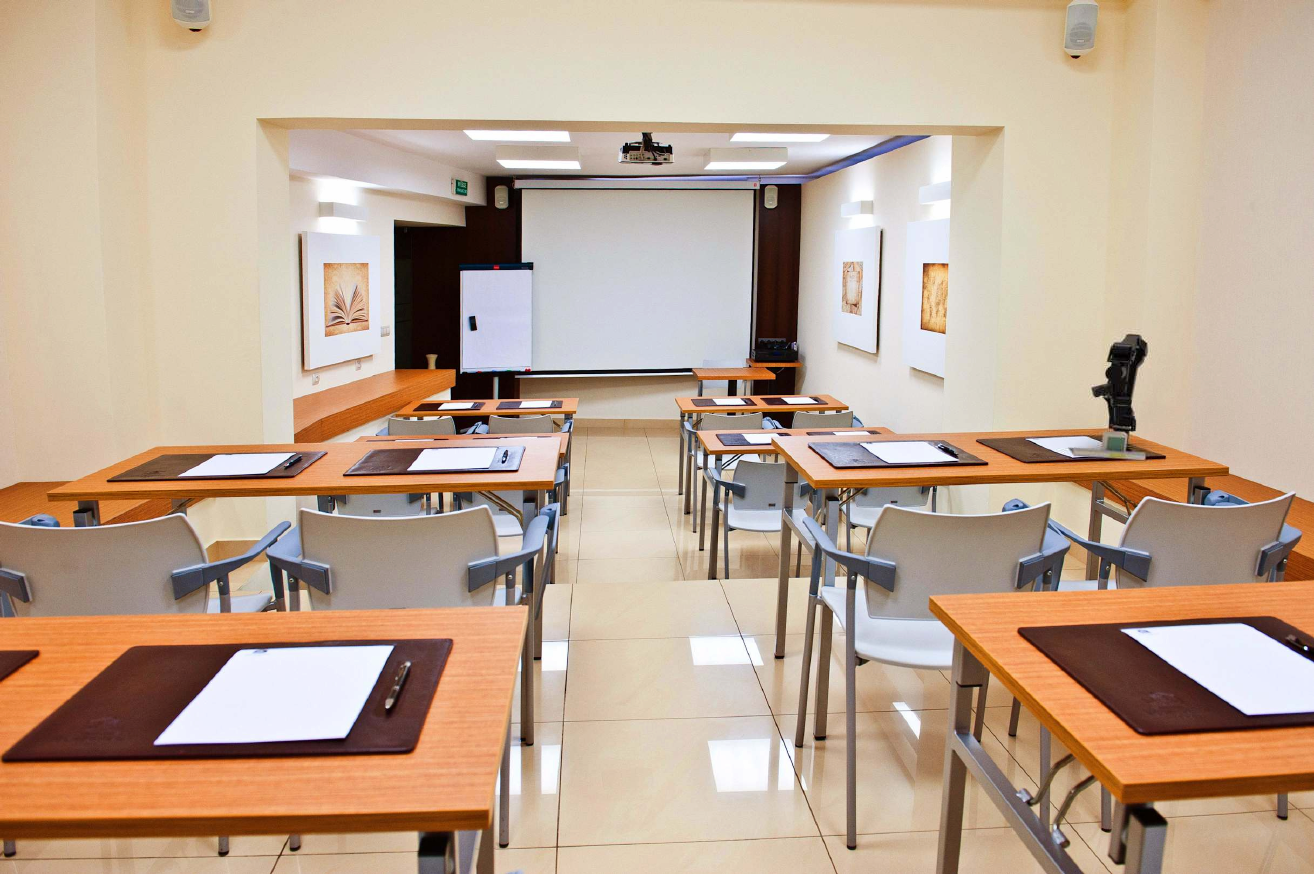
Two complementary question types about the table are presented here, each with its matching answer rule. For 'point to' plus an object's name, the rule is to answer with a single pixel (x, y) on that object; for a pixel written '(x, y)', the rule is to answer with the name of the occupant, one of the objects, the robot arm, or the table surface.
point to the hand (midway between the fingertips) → (1113, 420)
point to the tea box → (1114, 440)
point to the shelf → (1108, 453)
